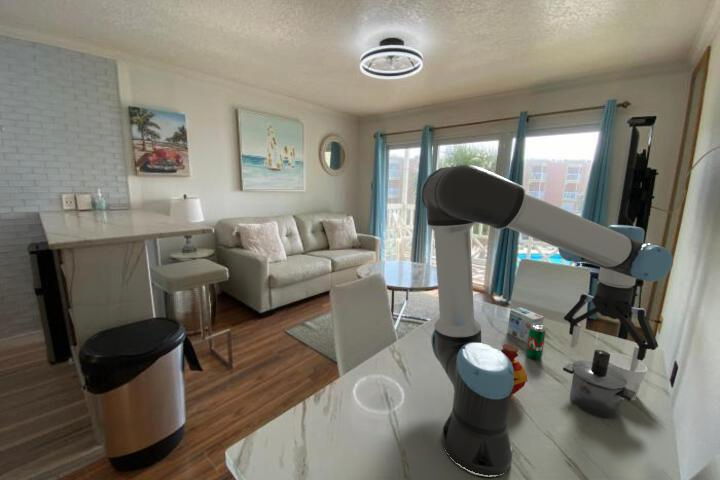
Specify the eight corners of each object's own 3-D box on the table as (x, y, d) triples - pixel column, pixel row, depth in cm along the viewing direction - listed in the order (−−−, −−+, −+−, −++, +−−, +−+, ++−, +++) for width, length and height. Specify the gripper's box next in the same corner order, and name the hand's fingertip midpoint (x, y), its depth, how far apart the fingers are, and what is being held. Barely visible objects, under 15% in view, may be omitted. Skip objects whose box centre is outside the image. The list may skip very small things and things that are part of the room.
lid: (613, 395, 77) (619, 370, 76) (563, 370, 88) (567, 347, 86) (633, 381, 83) (639, 358, 82) (584, 359, 94) (588, 338, 92)
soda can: (537, 353, 113) (541, 323, 111) (544, 361, 108) (548, 329, 106) (523, 352, 114) (527, 322, 112) (529, 360, 109) (533, 328, 107)
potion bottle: (501, 409, 84) (508, 359, 81) (478, 385, 94) (483, 340, 91) (532, 403, 86) (540, 355, 84) (506, 381, 96) (512, 337, 94)
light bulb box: (506, 332, 129) (509, 308, 127) (517, 330, 132) (520, 306, 130) (529, 345, 120) (533, 319, 118) (541, 341, 123) (544, 316, 121)
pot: (620, 430, 78) (627, 399, 76) (553, 395, 90) (558, 367, 89) (634, 414, 84) (641, 384, 82) (570, 382, 97) (574, 356, 95)
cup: (594, 389, 94) (599, 359, 92) (602, 377, 100) (607, 349, 99) (637, 407, 86) (644, 376, 85) (643, 393, 93) (649, 363, 91)
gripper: (686, 295, 73) (667, 376, 77) (569, 270, 93) (558, 334, 97) (678, 301, 69) (659, 386, 72) (557, 273, 89) (547, 340, 93)
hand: (601, 357), depth 85 cm, fingers open, 13 cm apart
